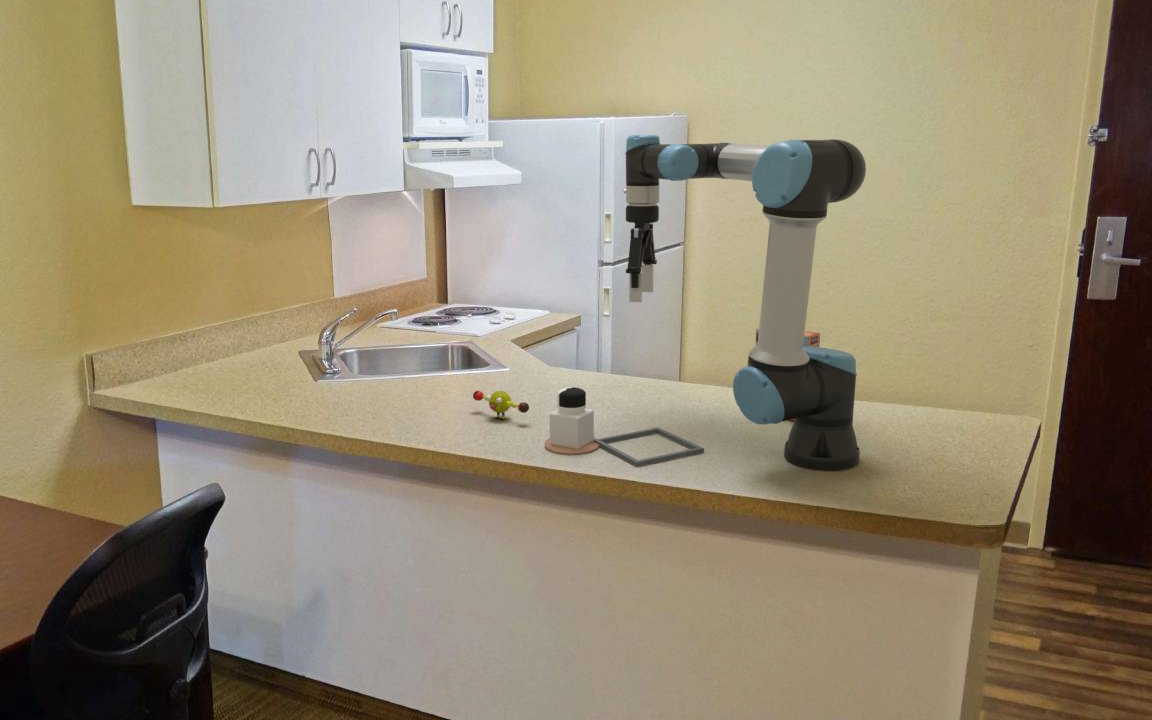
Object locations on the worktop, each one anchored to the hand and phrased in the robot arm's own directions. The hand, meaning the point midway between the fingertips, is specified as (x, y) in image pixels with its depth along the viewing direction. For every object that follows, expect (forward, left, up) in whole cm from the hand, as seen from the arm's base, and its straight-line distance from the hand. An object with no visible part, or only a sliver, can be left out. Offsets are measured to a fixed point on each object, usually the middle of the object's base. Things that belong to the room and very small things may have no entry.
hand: (641, 297), depth 223 cm
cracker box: (-18, -29, -29) cm, 45 cm away
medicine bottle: (-11, +25, -28) cm, 39 cm away
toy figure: (+15, +30, -29) cm, 44 cm away
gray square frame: (-21, +12, -29) cm, 38 cm away
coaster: (-11, +25, -29) cm, 40 cm away
